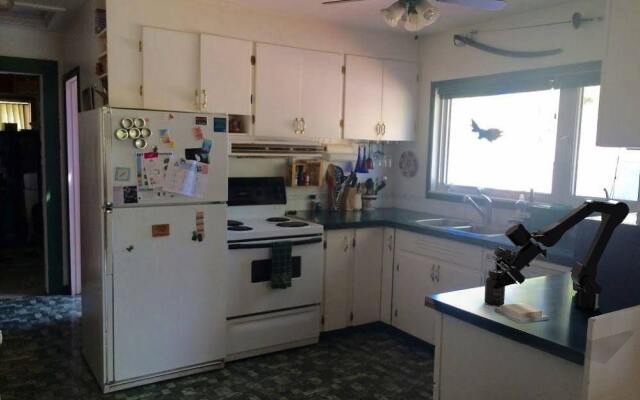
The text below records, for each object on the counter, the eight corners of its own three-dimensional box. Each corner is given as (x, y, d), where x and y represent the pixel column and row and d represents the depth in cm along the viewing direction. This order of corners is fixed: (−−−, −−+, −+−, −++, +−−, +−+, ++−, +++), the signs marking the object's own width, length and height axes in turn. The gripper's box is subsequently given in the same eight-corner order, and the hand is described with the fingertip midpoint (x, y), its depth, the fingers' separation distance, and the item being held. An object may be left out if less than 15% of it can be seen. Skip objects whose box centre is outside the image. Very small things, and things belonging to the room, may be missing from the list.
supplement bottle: (506, 303, 186) (508, 270, 184) (501, 307, 180) (503, 274, 179) (486, 299, 189) (488, 267, 188) (481, 304, 184) (483, 271, 182)
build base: (522, 308, 180) (522, 301, 179) (548, 319, 169) (549, 311, 168) (494, 311, 176) (494, 304, 175) (519, 322, 164) (519, 315, 164)
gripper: (501, 235, 191) (469, 263, 193) (517, 244, 173) (482, 275, 174) (522, 256, 191) (490, 284, 193) (540, 268, 173) (504, 299, 175)
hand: (491, 285), depth 184 cm, fingers closed on supplement bottle, 7 cm apart
